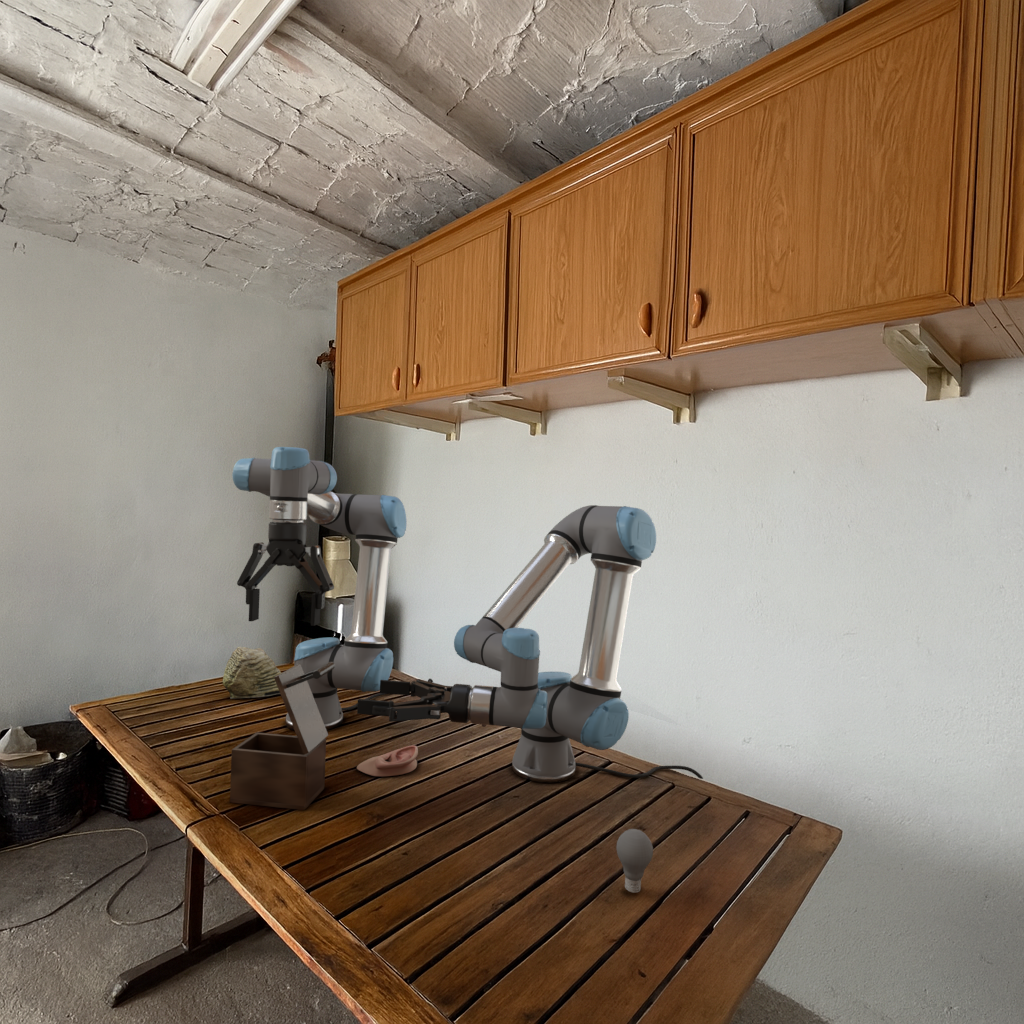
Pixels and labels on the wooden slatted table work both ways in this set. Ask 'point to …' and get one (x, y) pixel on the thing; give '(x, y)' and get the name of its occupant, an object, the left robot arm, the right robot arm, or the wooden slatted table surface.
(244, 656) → the fossil
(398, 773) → the anatomical model
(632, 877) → the light bulb
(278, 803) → the chest
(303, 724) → the lid
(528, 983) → the wooden slatted table surface
